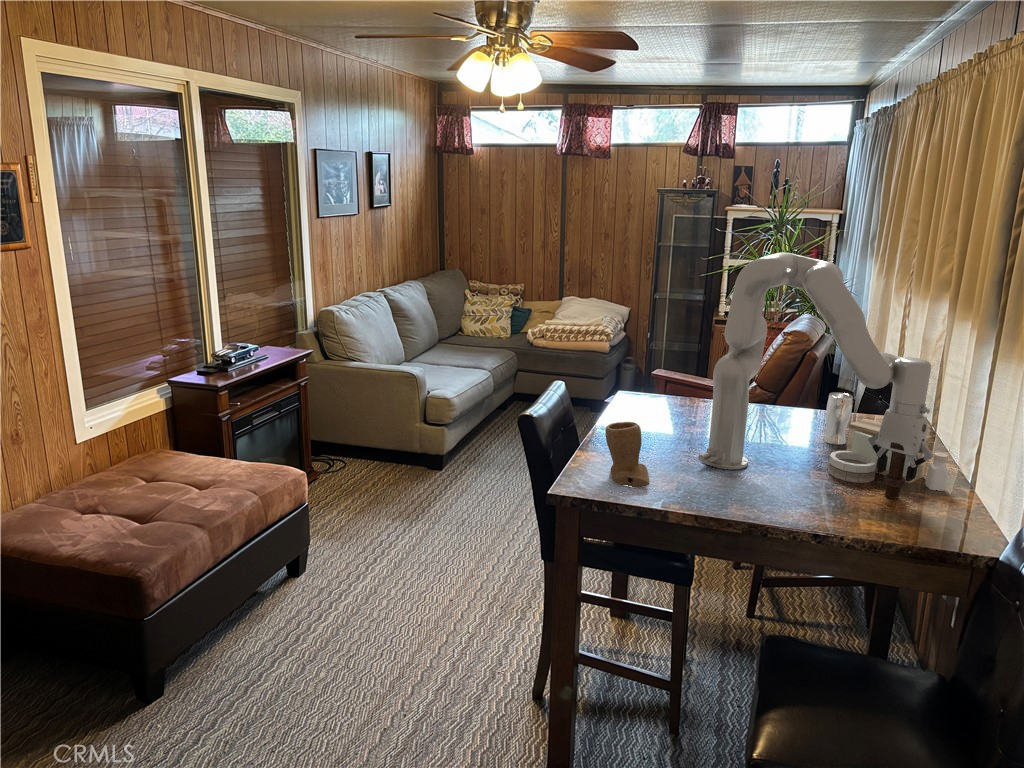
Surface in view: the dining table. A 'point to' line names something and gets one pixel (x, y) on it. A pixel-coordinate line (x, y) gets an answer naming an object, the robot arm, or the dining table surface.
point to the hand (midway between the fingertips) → (895, 475)
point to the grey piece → (861, 456)
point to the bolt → (895, 472)
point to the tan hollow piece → (626, 454)
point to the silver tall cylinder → (837, 417)
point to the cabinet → (870, 429)
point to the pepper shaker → (938, 473)
